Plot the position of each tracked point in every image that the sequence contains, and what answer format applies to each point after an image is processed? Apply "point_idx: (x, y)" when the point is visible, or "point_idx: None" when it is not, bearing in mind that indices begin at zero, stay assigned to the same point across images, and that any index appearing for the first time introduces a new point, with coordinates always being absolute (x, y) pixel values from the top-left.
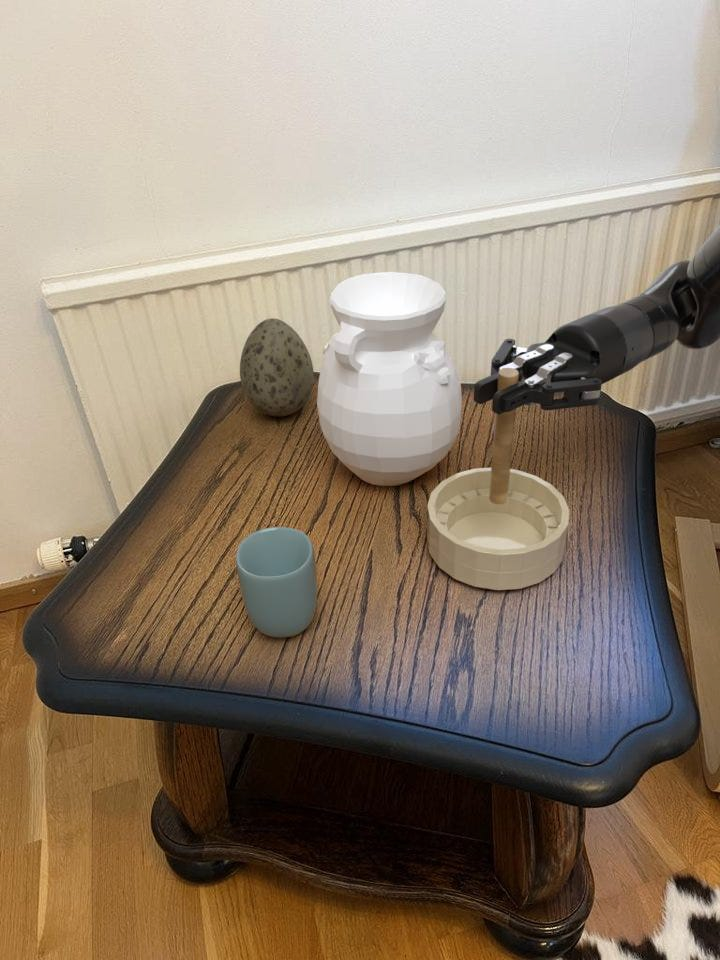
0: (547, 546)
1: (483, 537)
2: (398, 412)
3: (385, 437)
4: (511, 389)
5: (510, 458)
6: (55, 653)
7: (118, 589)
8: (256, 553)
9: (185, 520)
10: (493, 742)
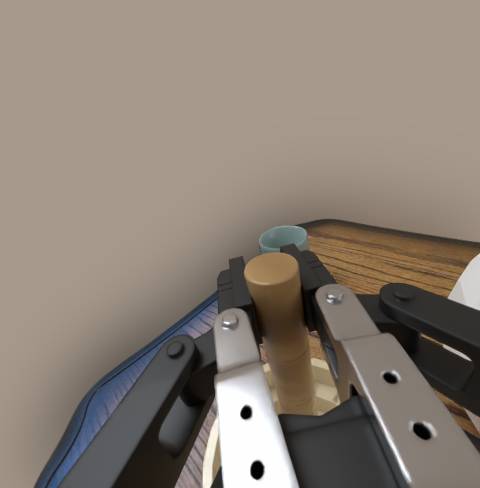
0: (202, 474)
1: None
2: (468, 301)
3: None
4: (233, 278)
5: None
6: (308, 224)
7: (343, 234)
8: (298, 239)
9: (409, 252)
10: (152, 348)
